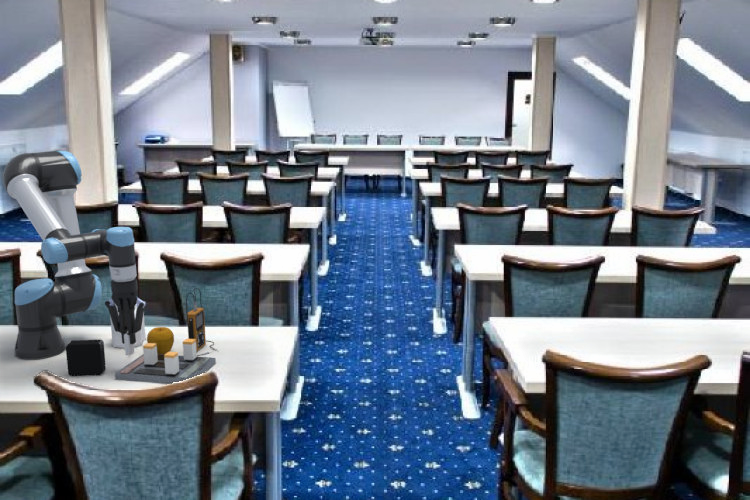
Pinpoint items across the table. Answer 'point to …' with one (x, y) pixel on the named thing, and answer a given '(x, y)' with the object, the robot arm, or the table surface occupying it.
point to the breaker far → (189, 349)
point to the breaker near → (171, 363)
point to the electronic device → (85, 357)
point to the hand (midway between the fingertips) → (130, 353)
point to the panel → (157, 371)
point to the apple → (161, 339)
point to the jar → (117, 335)
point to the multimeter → (197, 325)
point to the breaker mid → (150, 353)
